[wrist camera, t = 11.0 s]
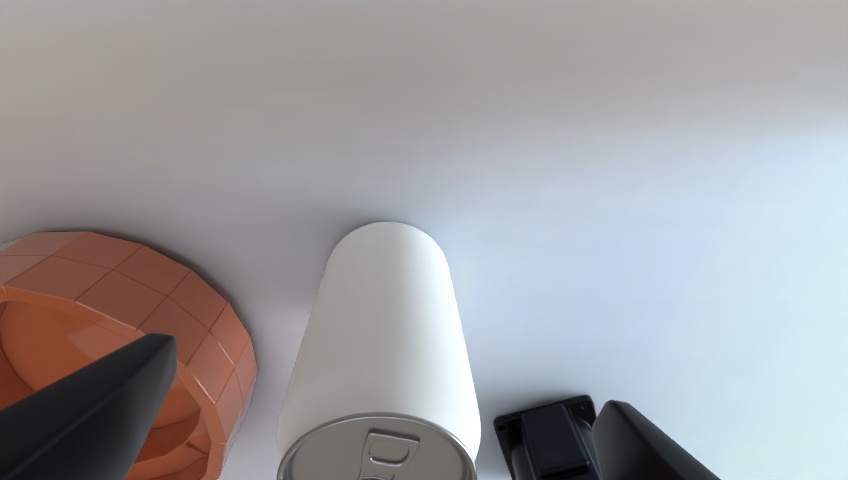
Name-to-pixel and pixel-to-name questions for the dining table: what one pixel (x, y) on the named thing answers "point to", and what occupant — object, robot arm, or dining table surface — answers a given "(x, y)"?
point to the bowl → (127, 339)
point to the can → (382, 368)
